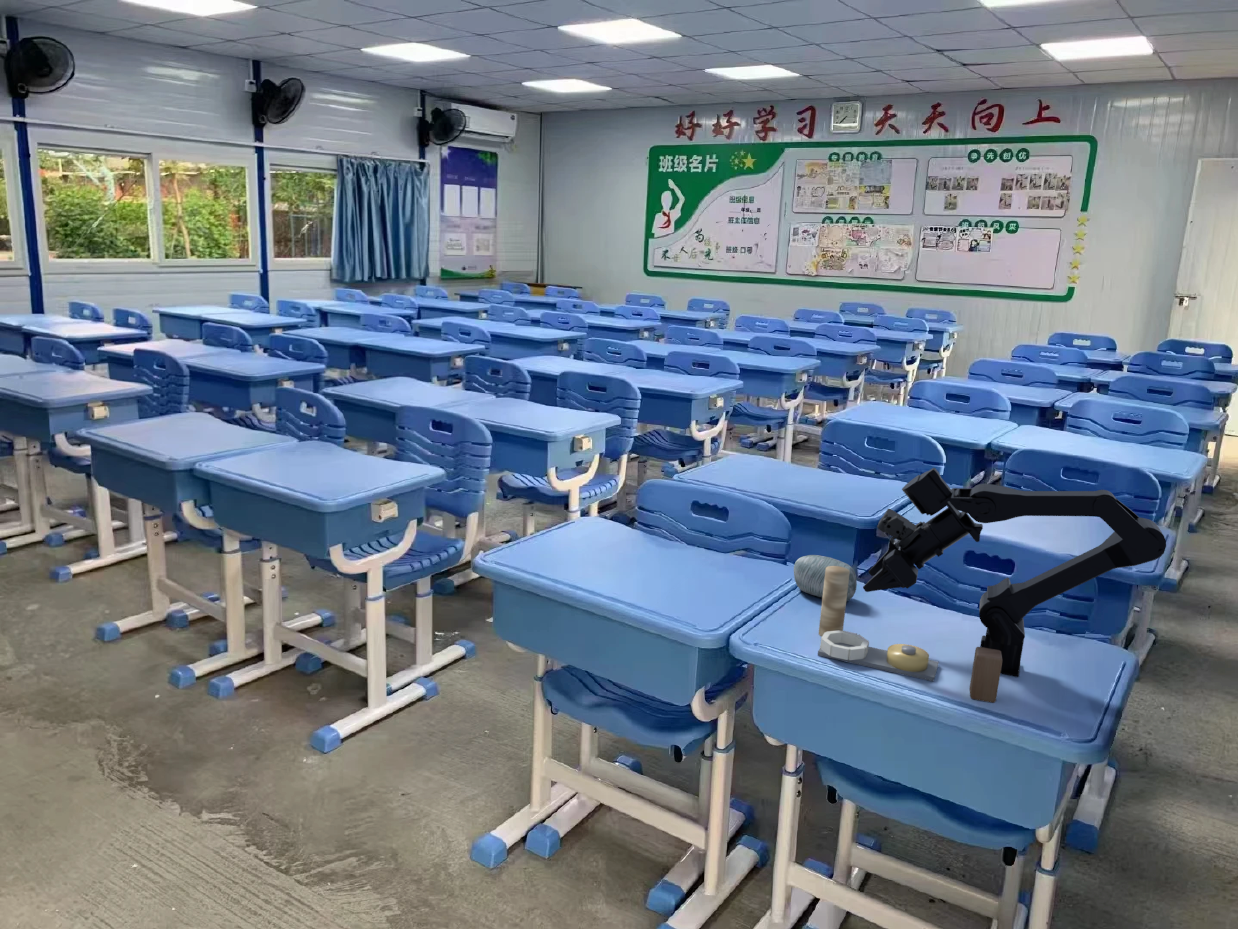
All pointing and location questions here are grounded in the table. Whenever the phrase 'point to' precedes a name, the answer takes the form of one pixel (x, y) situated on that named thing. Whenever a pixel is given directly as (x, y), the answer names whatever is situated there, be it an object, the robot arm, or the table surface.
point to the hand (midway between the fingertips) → (867, 581)
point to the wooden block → (985, 674)
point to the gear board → (878, 655)
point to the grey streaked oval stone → (819, 574)
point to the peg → (834, 599)
